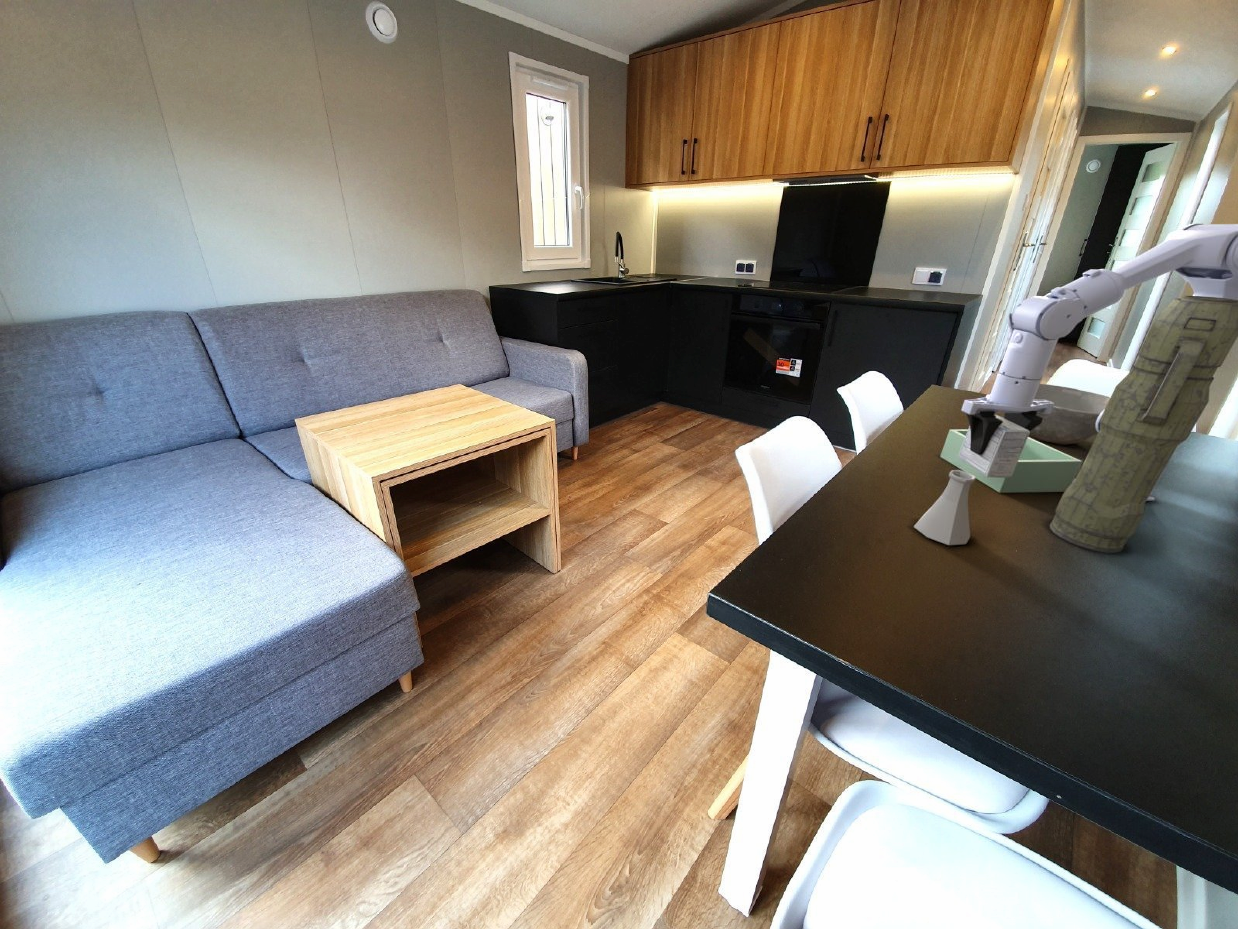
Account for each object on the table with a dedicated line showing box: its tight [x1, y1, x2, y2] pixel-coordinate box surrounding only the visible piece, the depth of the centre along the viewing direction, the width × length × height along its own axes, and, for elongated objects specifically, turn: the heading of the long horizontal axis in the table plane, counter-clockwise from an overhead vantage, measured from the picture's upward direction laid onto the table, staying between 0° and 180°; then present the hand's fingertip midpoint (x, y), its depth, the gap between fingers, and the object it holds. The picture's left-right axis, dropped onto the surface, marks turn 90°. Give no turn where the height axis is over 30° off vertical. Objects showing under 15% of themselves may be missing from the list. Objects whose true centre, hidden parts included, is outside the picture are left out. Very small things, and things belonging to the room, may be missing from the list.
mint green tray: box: [940, 428, 1083, 494], centre depth 94 cm, size 14×16×6 cm
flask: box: [913, 469, 977, 546], centre depth 73 cm, size 7×7×10 cm
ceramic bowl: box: [1028, 383, 1111, 445], centre depth 112 cm, size 22×23×10 cm
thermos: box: [1049, 295, 1238, 554], centre depth 68 cm, size 9×12×35 cm
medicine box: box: [958, 414, 1030, 478], centre depth 84 cm, size 8×4×9 cm, turn 0°
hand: (989, 452), depth 85 cm, fingers closed on medicine box, 4 cm apart
